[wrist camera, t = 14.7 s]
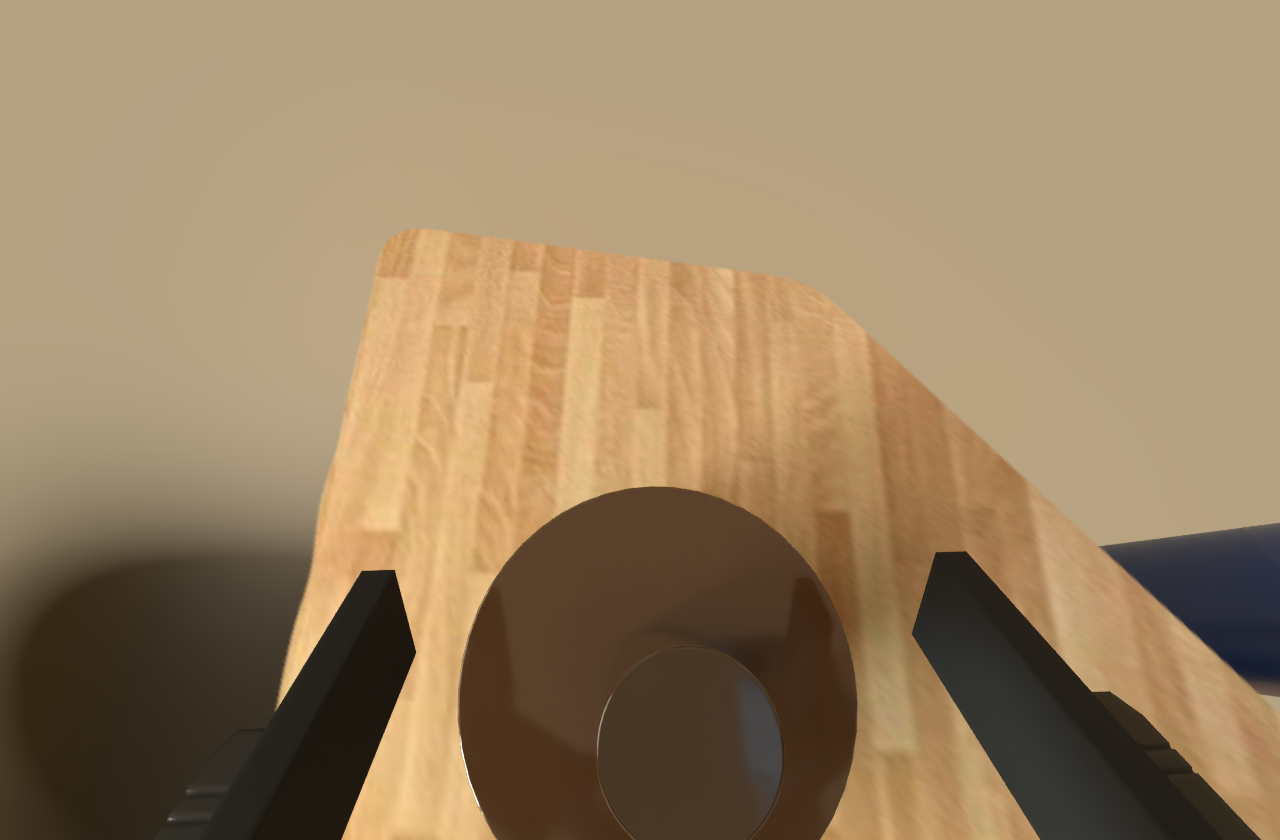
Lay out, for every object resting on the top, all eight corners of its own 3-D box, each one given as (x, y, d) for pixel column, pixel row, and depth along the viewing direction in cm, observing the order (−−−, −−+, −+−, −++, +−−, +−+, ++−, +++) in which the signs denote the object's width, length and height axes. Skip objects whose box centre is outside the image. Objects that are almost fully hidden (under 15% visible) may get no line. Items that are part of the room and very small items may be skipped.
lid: (921, 744, 18) (1237, 889, 9) (589, 1015, 15) (536, 1624, 6) (706, 432, 21) (769, 298, 12) (405, 614, 19) (194, 620, 9)
